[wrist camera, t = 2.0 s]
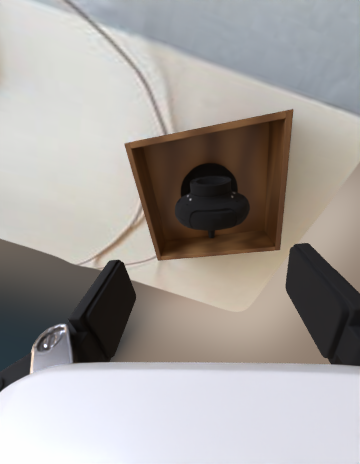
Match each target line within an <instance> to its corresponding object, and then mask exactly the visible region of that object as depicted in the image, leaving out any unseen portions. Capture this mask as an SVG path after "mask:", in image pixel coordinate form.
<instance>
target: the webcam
mask: <svg viewBox="0 0 360 464" xmlns="http://www.w3.org/2000/svg"><path fill="white" fill-rule="evenodd" d="M249 211H250V204H249V201H248V199H247V198H246V197H245V196H244V195H242V194H240V193H238V186H237V181H236V179H235V177H234V175H233V174H232V173H231V172H230V171H229V170H228V169H227V168H226V167H224V166H222V165H220V164H216V163H205V164H201V165H199V166H196V167H195V168H193V169H192V170H191V171H190V172H189V173H188V174H187V175H186V177H185V178H184V180H183V182H182V185H181V198H180V199H179V200H178V201H177V203H176V205H175V216H176V218H177V219H178V221H179V222H180V223H181V224H182V225H184V226H185V227H188V228H191V229H195V230H205V231H208V236H209V238H214V237H215V230H222V229H227V228H232V227H234V226H237V225H239V224H241V223H242V222H243V221H244V220H245V219H246V218H247V216H248V214H249Z"/></svg>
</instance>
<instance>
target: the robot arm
mask: <svg viewBox="0 0 360 464" xmlns="http://www.w3.org/2000/svg"><path fill="white" fill-rule="evenodd" d="M286 291H287V293H288V295H289V297H290V299H291V300H292V302H293V304H294V306H295V308H296V309H297V311H298V313H299V315H300V317H301V318H302V320H303V322H304V324H305V326H306V327H307V329H308V331H309V333H310V334H311V336H312V338H313V340H314V342H315V344H316V345H317V347H318V349H319V351H320V353H321V354H322V356H323V357H324V358H328V359H329V362H330V363H331V365H330V364H329V365H328V364H295V363H294V364H291V363H206V362H205V363H204V362H199V363H197V362H195V363H194V362H110V359H111V357H113V356H114V355H115V352H116V350H117V347H118V344H119V342H120V339H121V337H122V334H123V332H124V329H125V326H126V324H127V321H128V318H129V315H130V313H131V311H132V308H133V305H134V303H135V300H136V294H135V291H134V288H133V286H132V283H131V281H130V278H129V275H128V273H127V270H126V268H125V265H124V263H123V262H121V261H120V260H111V261H109V262H108V263H107V265H106V266H105V267H104V269H103V270H102V272H101V273H100V275H99V276H98V277H97V279H96V280H95V282H94V283H93V284H92V286H91V287H90V289H89V290H88V291H87V293H86V294H85V296H84V297H83V299H82V300H81V301H80V303H79V304H78V306H77V307H76V309H75V310H74V312H73V313H72V314H71V316H70V317H69V318H68V320H69V322H68V324H67V325H65V324H58V325H55V326H52V327H51V328H49V329H47V330H46V331H45V332H43V333H42V334H41V335H40V336H39V337H38V338H37V340H36V341H35V343H34V345H33V348H32V352H31V353H30V354H28V355H26V356H25V357H23V358H22V359H20V360H19V361H17V362H15V363H14V364H12V365H11V366H9V367H8V368H6V369H4V370H3V371H2V372H0V464H360V293H359V292H358V291H356V289H355V288H353V286H352V285H350V283H348V281H346V280H345V278H343V277H342V276H341V275H340V274H339V273H338V272H337V271H336V270H335V269H334V268H332V266H331V265H330V264H329V263H328V262H327V261H326V260H325V259H323V257H321V255H320V254H319V253H318V252H317V251H316V250H315V249H314V248H313V247H312V246H311V245H310V244H308V243H302V244H295V245H294V247H291V248H290V254H289V262H288V270H287V278H286Z"/></svg>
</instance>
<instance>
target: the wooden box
mask: <svg viewBox="0 0 360 464" xmlns="http://www.w3.org/2000/svg"><path fill="white" fill-rule="evenodd" d="M292 118H293V109H292V110H287V111H282V112H277V113H272V114H267V115H262V116H257V117H252V118H247V119H242V120H237V121H232V122H228V123H223V124H218V125H213V126H208V127H203V128H198V129H193V130H188V131H183V132H178V133H173V134H168V135H164V136H159V137H154V138H149V139H144V140H139V141H134V142H129V143H125V148H126V151H127V155H128V158H129V162H130V165H131V169H132V172H133V176H134V179H135V183H136V186H137V190H138V193H139V197H140V200H141V203H142V207H143V210H144V214H145V217H146V221H147V224H148V228H149V231H150V235H151V238H152V242H153V245H154V249H155V252H156V256H157V259H158V260H170V259H181V258H193V257H205V256H216V255H228V254H239V253H251V252H263V251H274V250H280V245H281V234H282V223H283V213H284V202H285V192H286V181H287V171H288V160H289V150H290V139H291V128H292ZM205 163H216V164H220V165H222V166H224V167H226V168H227V169H228V170H229V171H230V172H231V173H232V174H233V175H234V177H235V179H236V181H237V186H238V193H240V194H242V195H244V196H245V197H246V198H247V199H248V201H249V204H250V211H249V214H248V216H247V218H246V219H245V220H244V221H243V222H242V223H241V224H239V225H237V226H234V227H232V228H227V229H222V230H215V237H214V238H209V236H208V231H205V230H195V229H191V228H188V227H185V226H184V225H182V224H181V223H180V222H179V221H178V219H177V218H176V216H175V205H176V203H177V201H178V200H179V199H180V198H181V185H182V182H183V180H184V178H185V177H186V175H187V174H188V173H189V172H190V171H191V170H192V169H193V168H195V167H196V166H199V165H201V164H205Z"/></svg>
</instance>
